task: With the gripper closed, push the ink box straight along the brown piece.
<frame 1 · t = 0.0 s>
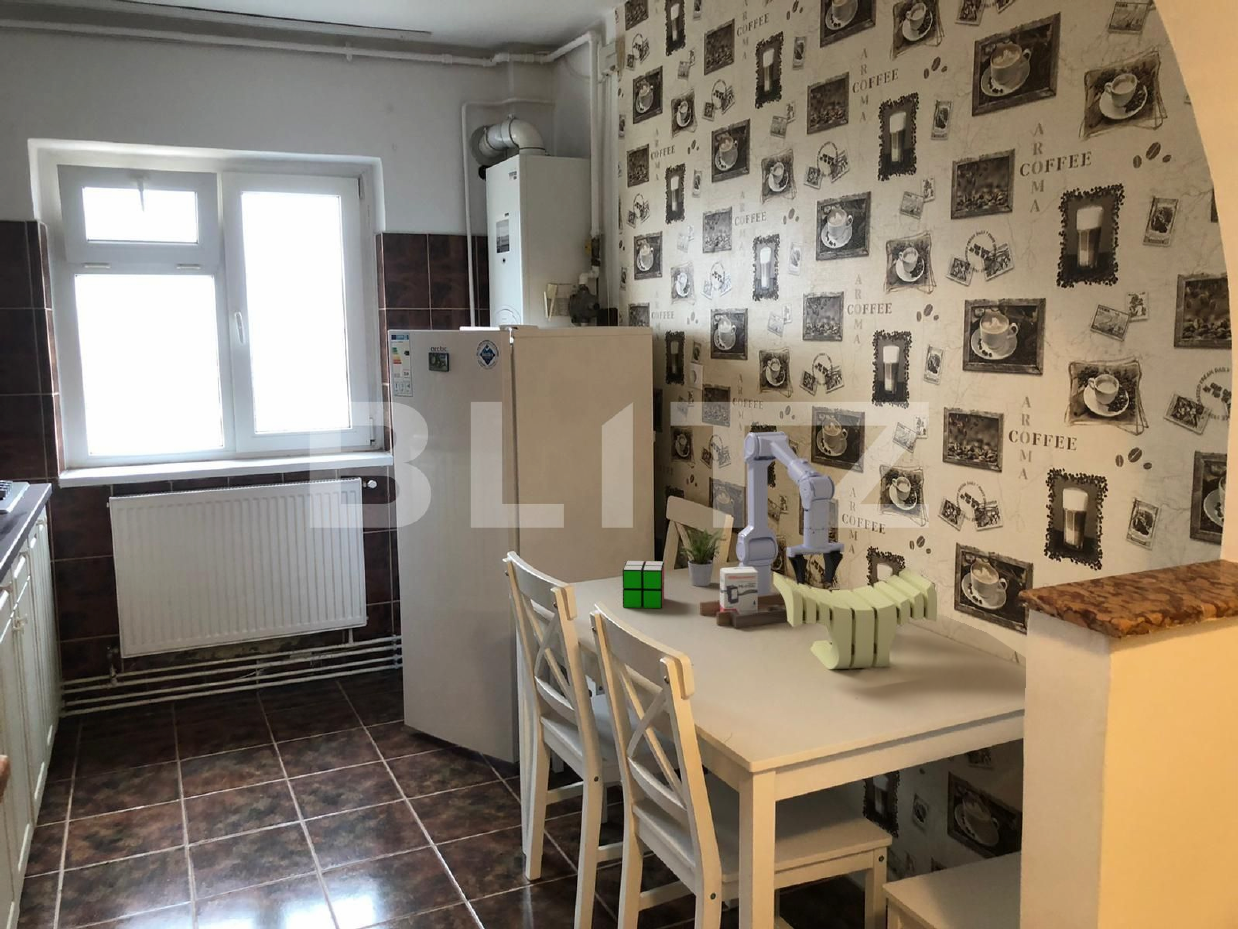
hand: (814, 584, 233), 10 cm above the table, fingers open, 7 cm apart
ink box: (738, 617, 242), resting in brown piece
brown piece: (763, 613, 244), on the table
house plant: (705, 584, 272), on the table
puzzle cube: (643, 604, 254), on the table
slatted curved stool: (850, 661, 210), on the table
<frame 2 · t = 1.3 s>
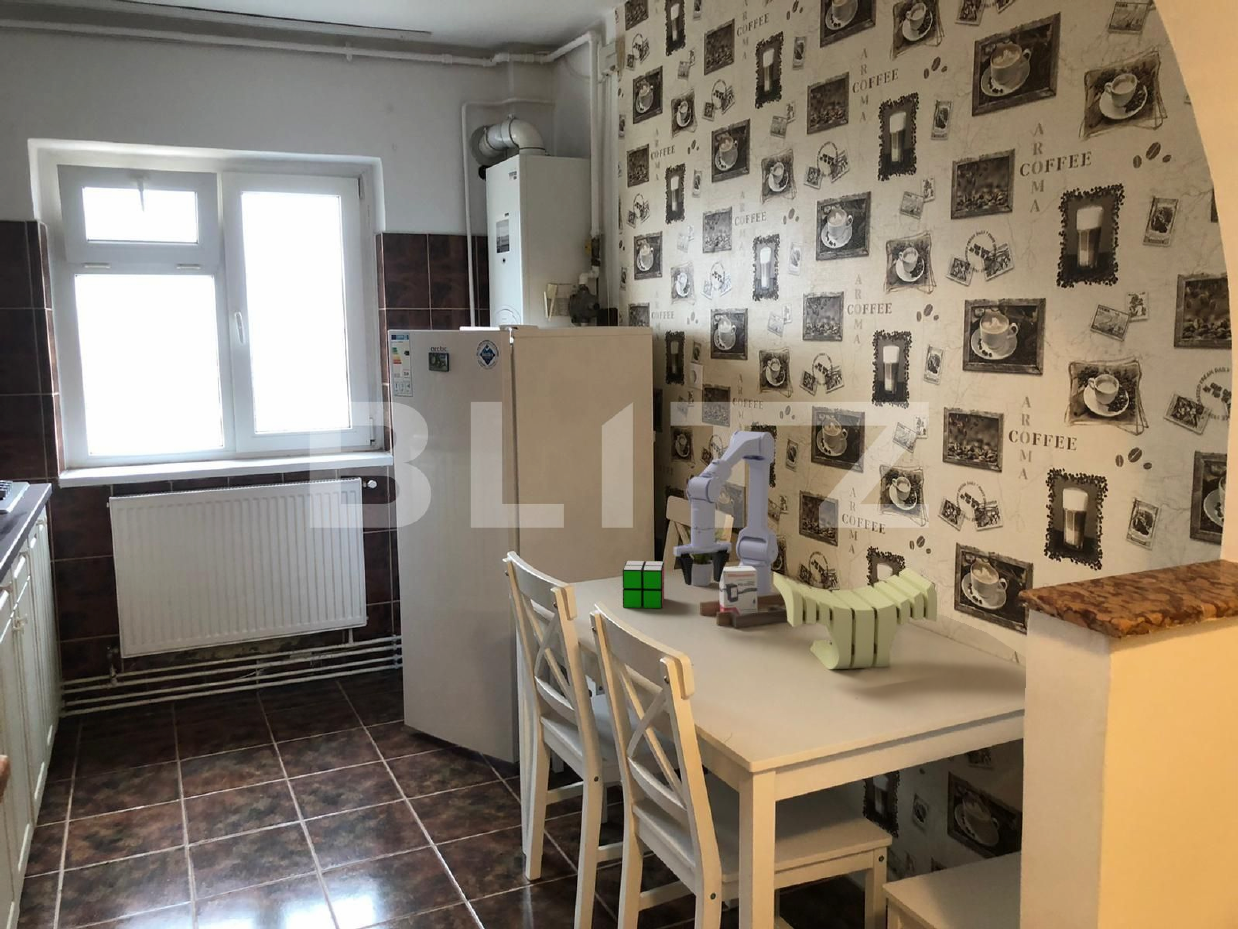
hand: (702, 582, 237), 9 cm above the table, fingers open, 7 cm apart
nothing on the table moved.
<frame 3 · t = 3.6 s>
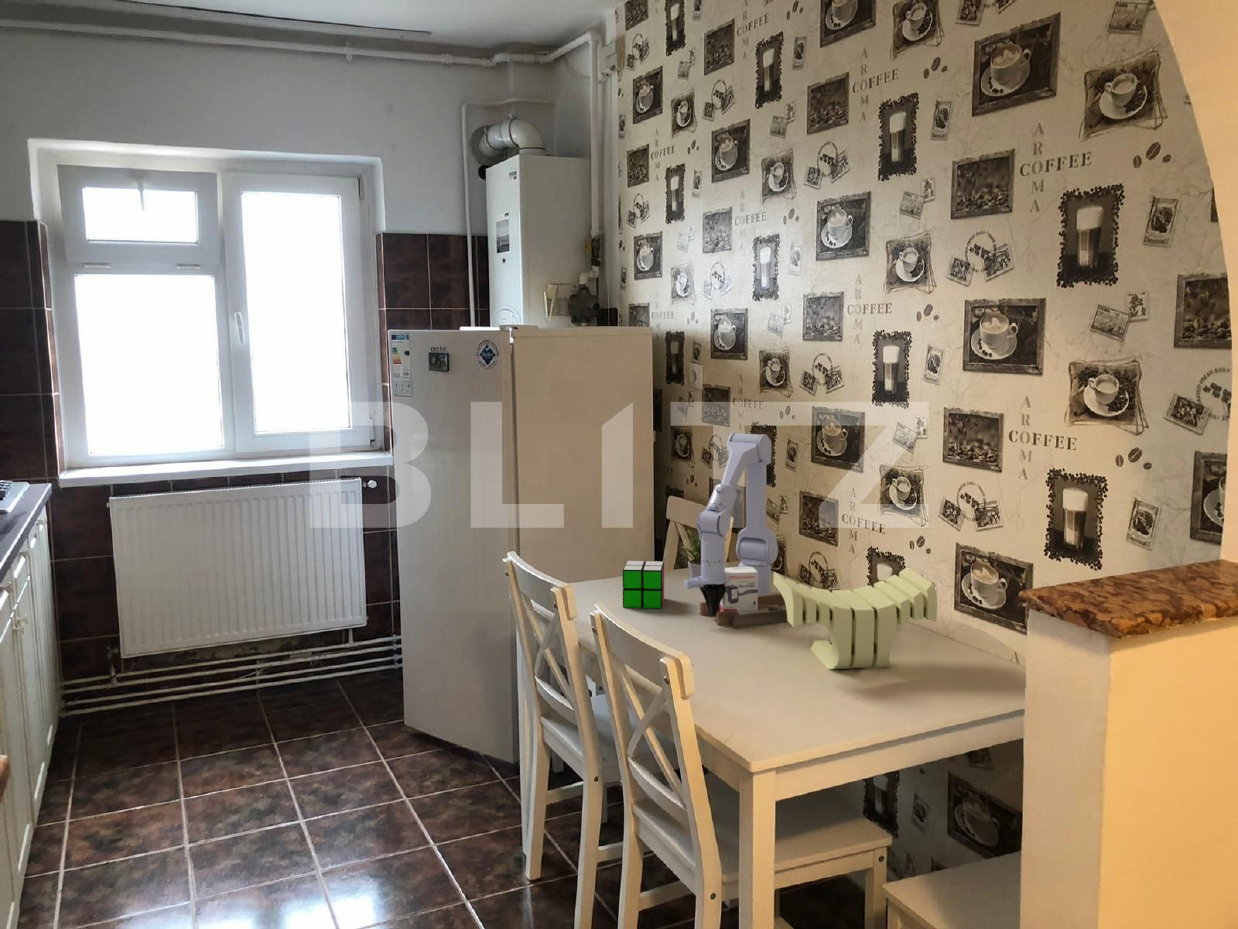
hand: (712, 614, 239), 1 cm above the table, fingers closed
ink box: (738, 617, 242), resting in brown piece, touching gripper
everything else where it was.
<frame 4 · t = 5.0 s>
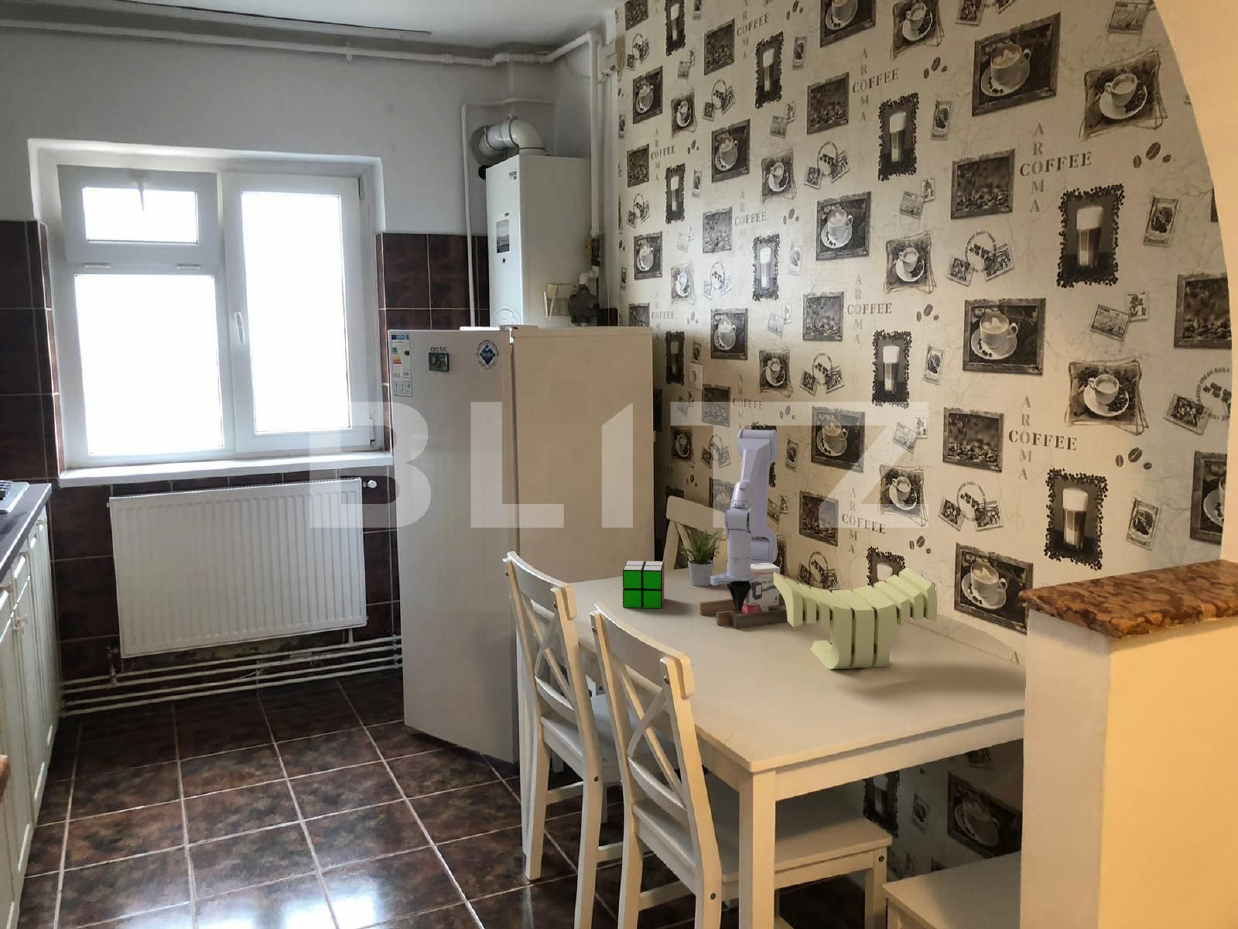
hand: (738, 611, 242), 1 cm above the table, fingers closed
ink box: (758, 613, 245), resting in brown piece, touching gripper
everything else where it was.
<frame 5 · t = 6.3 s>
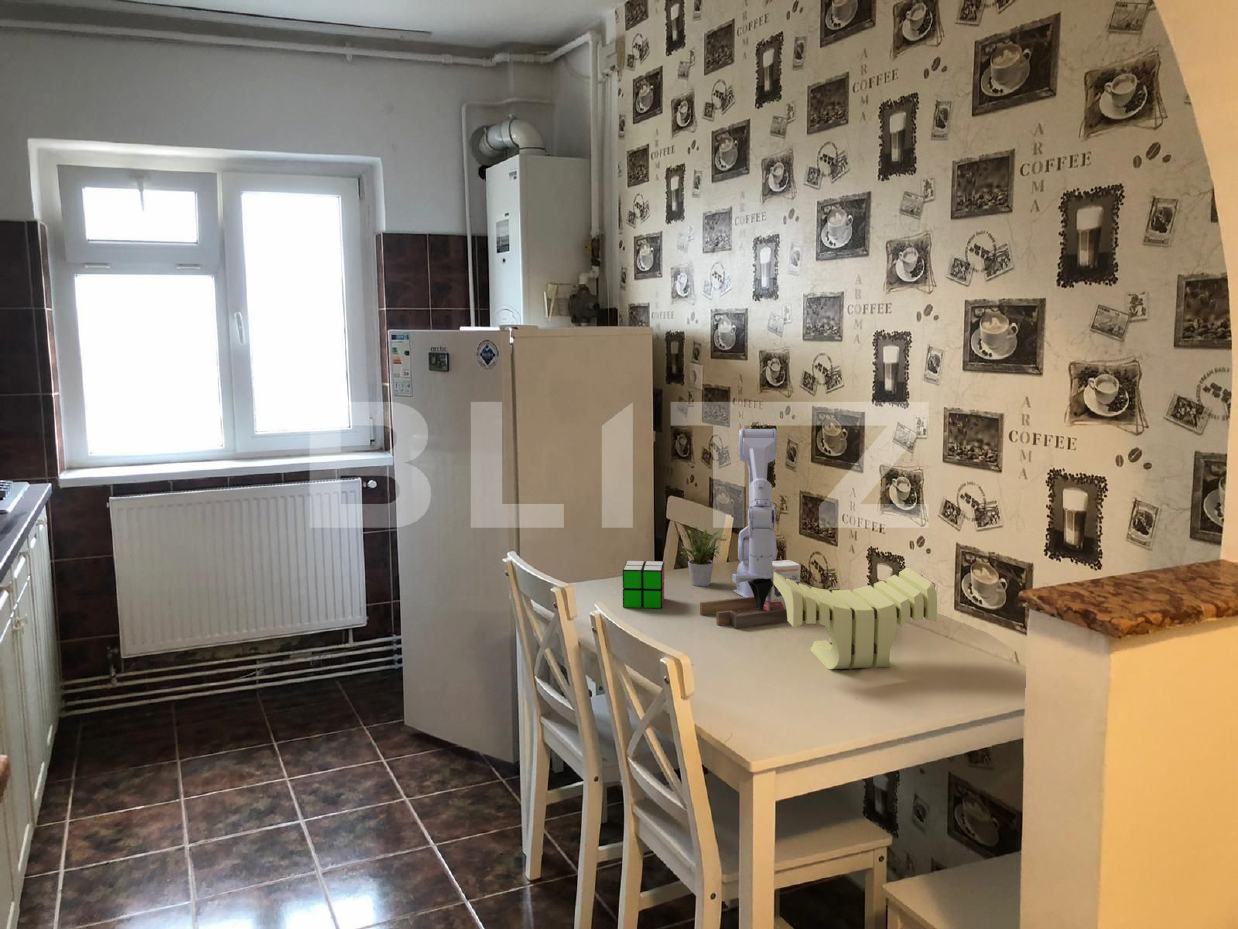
hand: (760, 608, 244), 1 cm above the table, fingers closed
ink box: (779, 609, 247), resting in brown piece, touching gripper
everything else where it was.
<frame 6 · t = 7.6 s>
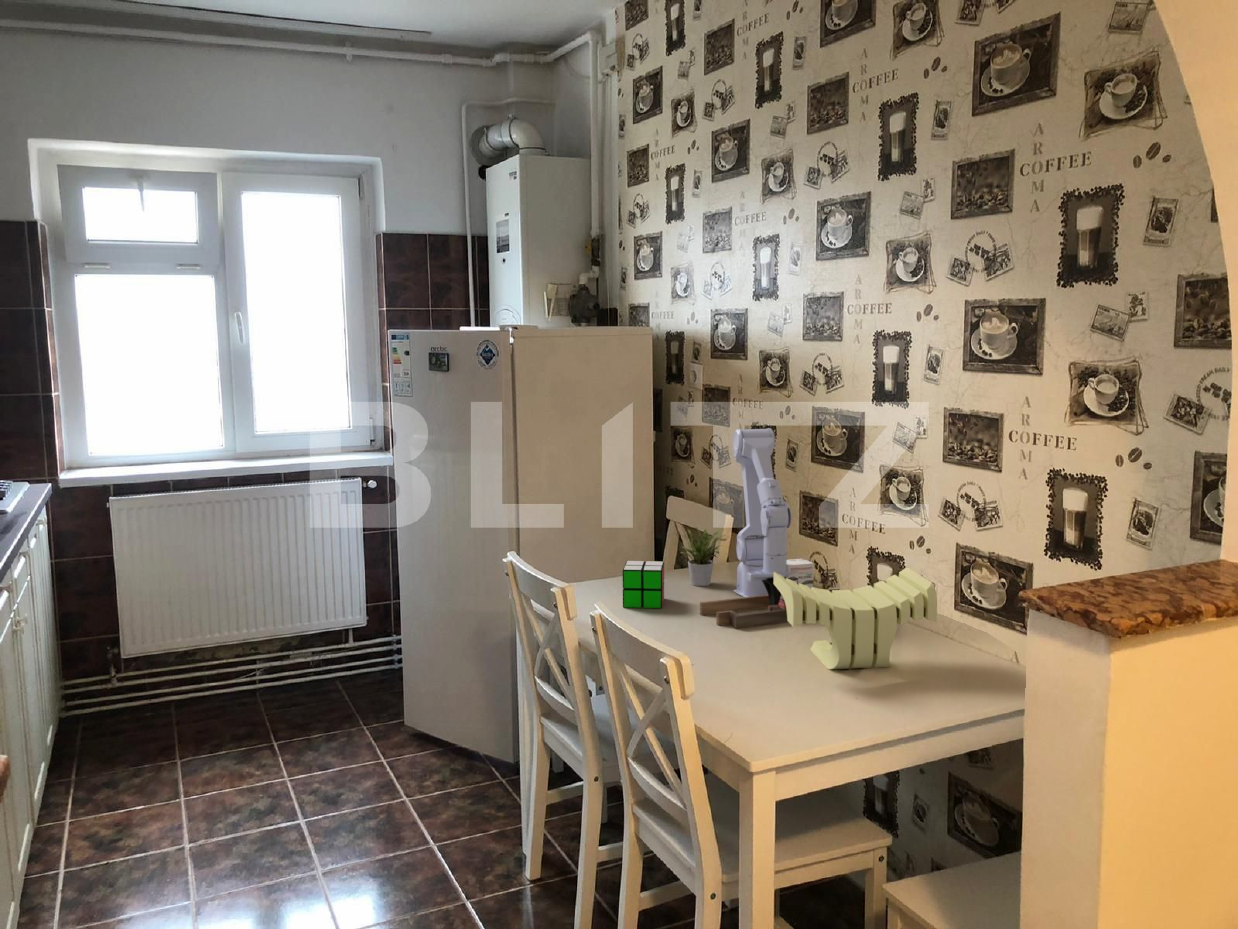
hand: (774, 607, 245), 1 cm above the table, fingers closed
ink box: (793, 608, 249), resting in brown piece, touching gripper
everything else where it was.
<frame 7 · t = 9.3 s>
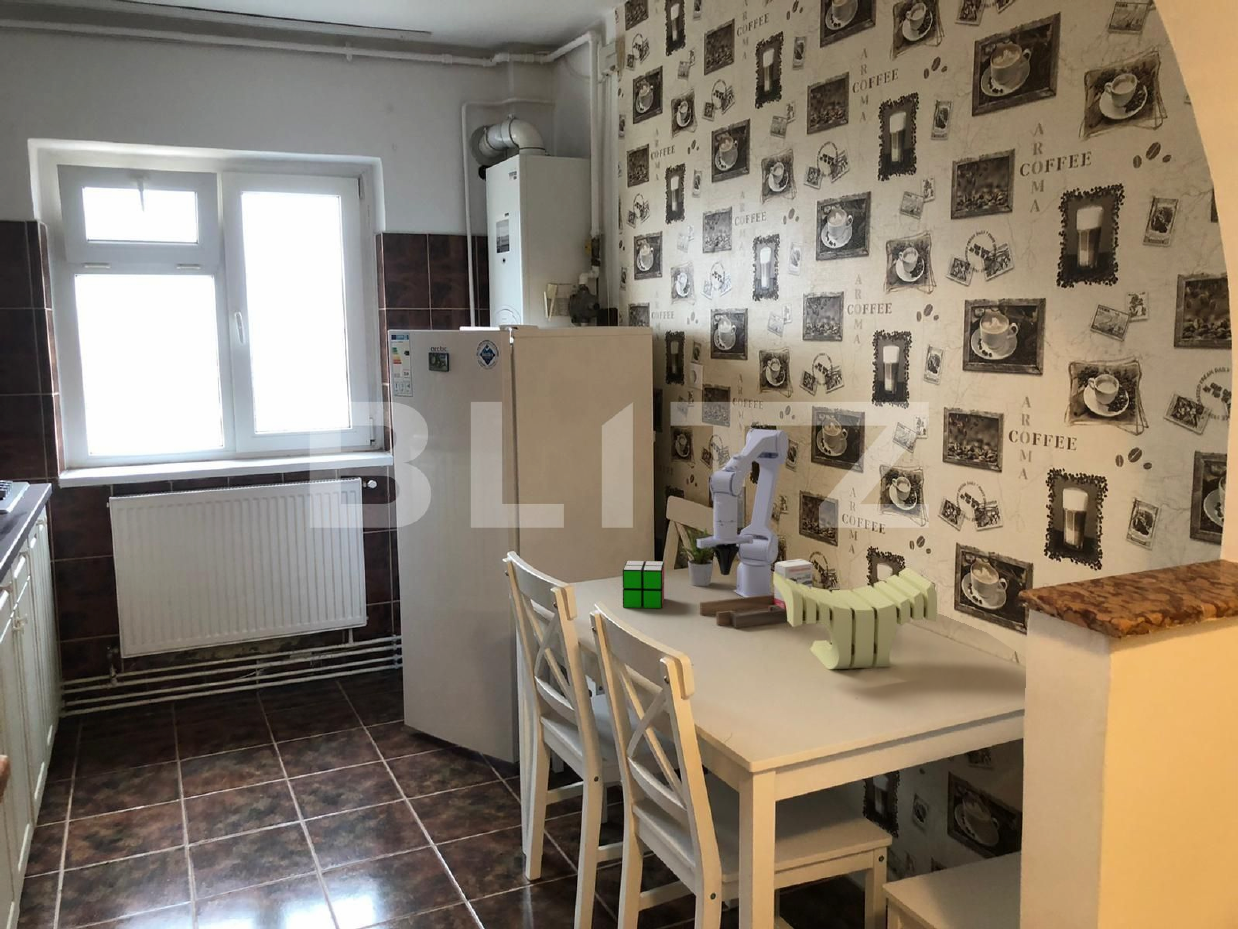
hand: (724, 574, 243), 10 cm above the table, fingers closed
ink box: (792, 608, 249), resting in brown piece
everything else where it was.
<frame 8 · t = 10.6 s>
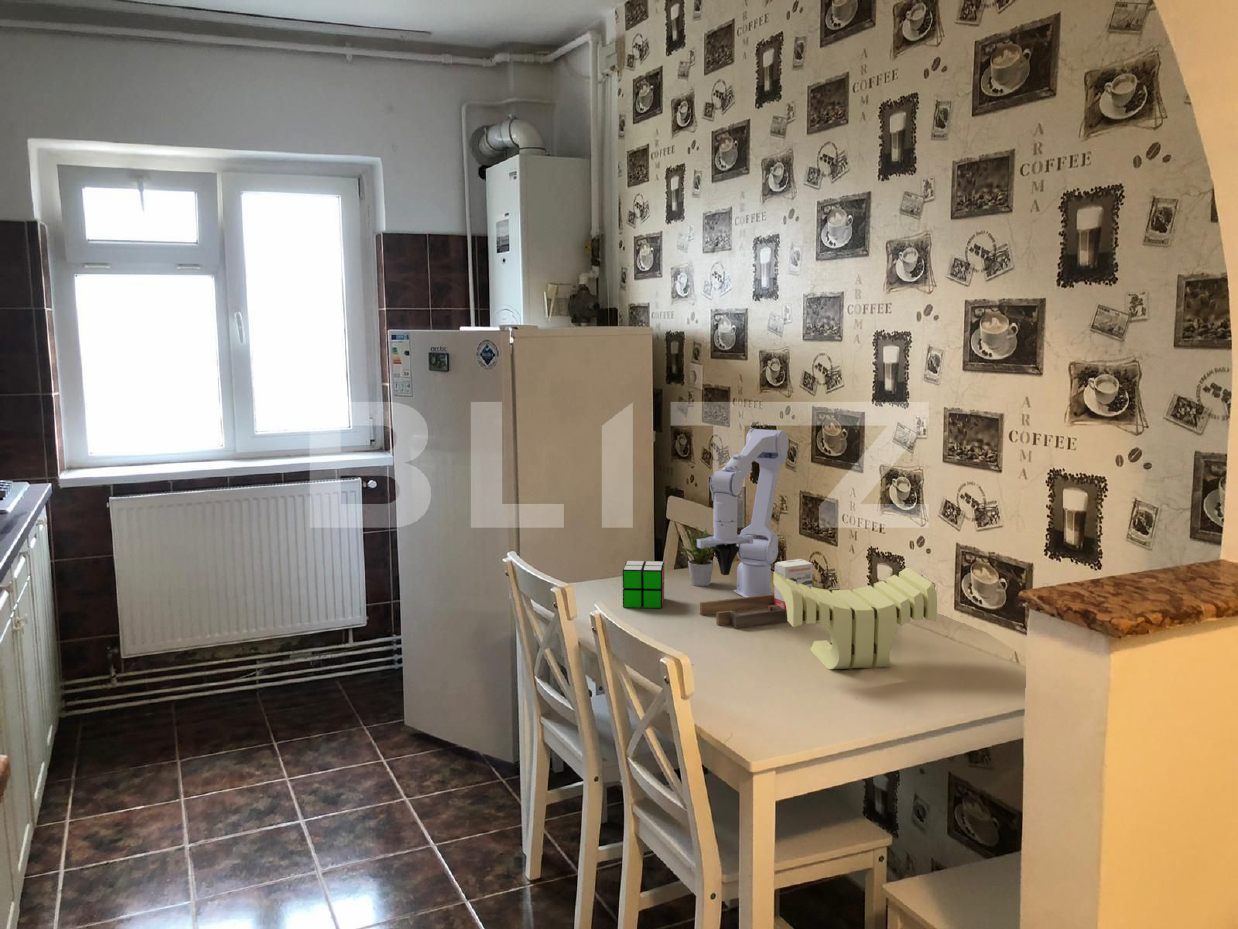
hand: (724, 574, 243), 10 cm above the table, fingers closed
nothing on the table moved.
at the end: ink box inside the target area (1.4 cm from its centre), resting in brown piece; ink box tilted 0°; ink box touching table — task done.
